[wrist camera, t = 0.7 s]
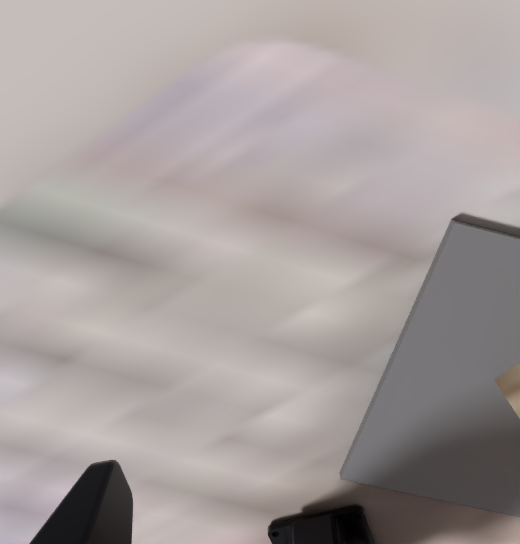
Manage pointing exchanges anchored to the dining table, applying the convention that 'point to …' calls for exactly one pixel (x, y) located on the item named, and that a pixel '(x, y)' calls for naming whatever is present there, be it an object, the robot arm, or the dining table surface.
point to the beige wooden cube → (511, 387)
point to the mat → (451, 383)
